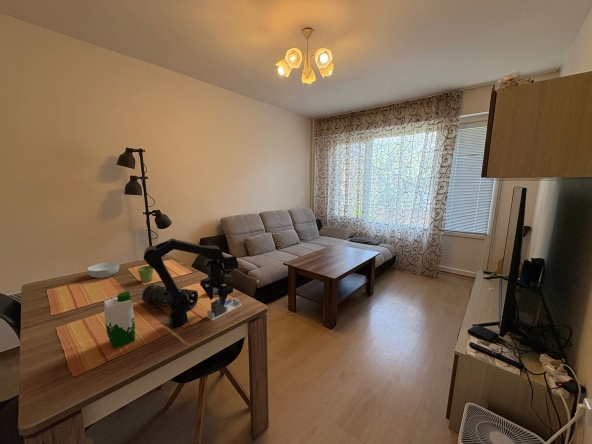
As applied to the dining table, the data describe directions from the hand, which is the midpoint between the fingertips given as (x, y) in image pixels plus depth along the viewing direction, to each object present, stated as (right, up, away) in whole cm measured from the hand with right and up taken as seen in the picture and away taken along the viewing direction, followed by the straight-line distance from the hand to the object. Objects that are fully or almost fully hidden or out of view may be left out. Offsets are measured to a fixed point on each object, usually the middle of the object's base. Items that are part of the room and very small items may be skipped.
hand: (217, 302), depth 114 cm
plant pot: (-59, +1, +38) cm, 70 cm away
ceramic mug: (-8, -3, +22) cm, 24 cm away
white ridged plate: (+2, -6, +4) cm, 8 cm away
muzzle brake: (-28, -5, +9) cm, 30 cm away
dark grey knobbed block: (0, -6, +1) cm, 6 cm away
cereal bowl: (-92, +2, +44) cm, 102 cm away
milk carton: (-33, -10, -18) cm, 39 cm away
